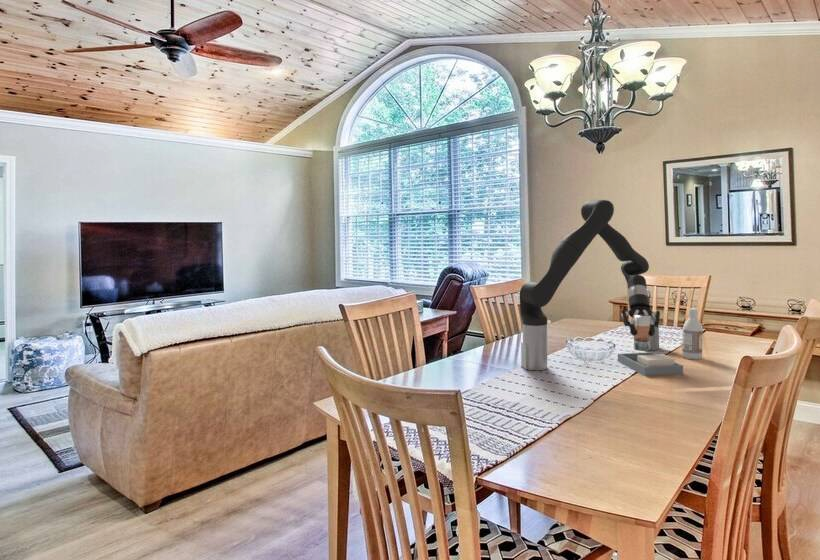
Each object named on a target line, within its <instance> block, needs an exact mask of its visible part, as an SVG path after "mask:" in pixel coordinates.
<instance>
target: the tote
mask: <svg viewBox="0 0 820 560" xmlns="http://www.w3.org/2000/svg"><path fill="white" fill-rule="evenodd" d="M637 355H658V354H657V353H656V352H655V353H654V352H651V351H650V352H648V351H646V352H631V353H629V352H627V353H626V352H625V353H617V362H618V363H620V365H621V364H622V365H623V366H626V367H627V368H629V369H631V370H633V371H635V372H637V373H638V374H640V375H642V376H644V377H651V376H670V375H673V376H674V375H675V376H676V375H683V374H684V365H682V364H680V363H679V362H675V361H674V365H673V366H651V367H645V366H643V365H641V364H639V363H637Z"/></svg>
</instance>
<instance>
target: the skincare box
mask: <svg viewBox="0 0 820 560" xmlns="http://www.w3.org/2000/svg"><path fill="white" fill-rule="evenodd" d="M651 319H652V321H653V322H655V318H654V317H653V315H651ZM659 328H660V325H658V327H654V329H655V333H654V335H653V336H650V350H649V351H654V350H655V351H657V350H658V349H659V348H660V331H659V330H660V329H659Z"/></svg>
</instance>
